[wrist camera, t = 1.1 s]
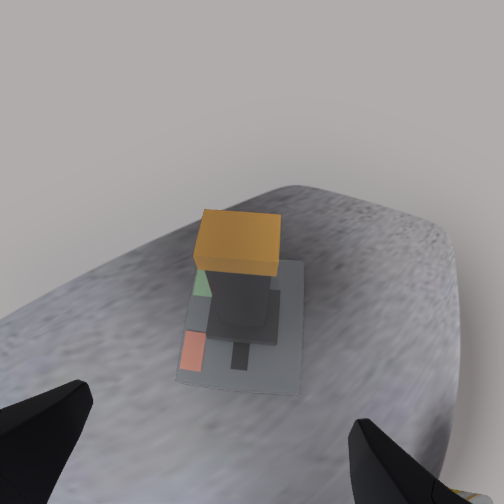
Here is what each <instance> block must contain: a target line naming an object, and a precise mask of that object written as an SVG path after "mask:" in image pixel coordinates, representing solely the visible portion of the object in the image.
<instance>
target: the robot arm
mask: <svg viewBox="0 0 504 504" xmlns="http://www.w3.org/2000/svg"><path fill="white" fill-rule="evenodd" d="M92 405H93V397H92V394H91V391H90V388H89V385H88V384H87V383H86V382H84V381H81V380H74V381H72V382H69V383H67V384H64V385H62V386H60V387H57V388H55V389H52V390H50V391H47V392H45V393H42V394H39V395H37V396H34V397H32V398H29V399H26V400H24V401H21V402H18V403H16V404H13V405H10V406H8V407H5V408H2V409H0V504H47V502H48V500H49V497H50V495H51V493H52V491H53V489H54V487H55V485H56V483H57V480H58V478H59V476H60V474H61V472H62V470H63V468H64V466H65V464H66V462H67V460H68V458H69V456H70V454H71V453H72V451H73V449H74V447H75V445H76V443H77V441H78V439H79V437H80V435H81V433H82V430H83V428H84V425H85V422H86V420H87V417H88V415H89V412H90V410H91V408H92ZM348 446H349V461H350V477H351V484H352V489H353V495H354V500H355V504H473V503H471V502H469V501H467V500H466V499H464V498H462V497H461V496H459V495H458V494H456V493H455V492H453V491H452V490H451V489H449V488H448V487H447V486H445V485H444V484H443V483H442V482H440V481H439V480H438V479H437V478H434V476H433V475H432V474H431V473H430V472H428V471H427V470H426V469H425V468H424V467H422V466H421V465H420V464H419V463H418V462H417V461H416V460H414V459H413V458H412V457H411V456H410V455H409V454H408V453H406V452H405V451H404V450H403V449H402V448H401V447H400V446H398V445H397V444H396V443H395V442H394V441H393V440H392V439H391V438H390V437H388V436H387V435H386V434H385V433H384V432H383V431H382V430H381V429H380V428H379V427H377V426H376V425H375V424H374V423H373V422H372V421H371V420H370V419H368V418H364V419H357V420H356V421H355V422H354V425H353V427H352V429H351V431H350V433H349V436H348Z"/></svg>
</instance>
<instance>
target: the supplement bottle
mask: <svg viewBox="0 0 504 504" xmlns="http://www.w3.org/2000/svg"><path fill="white" fill-rule="evenodd" d="M449 489H450V488H449ZM451 490H452V491H453V492H455V493H456V494H458V495H459V496H461V497H462V498H464V499H466V500H467V501H469V502H471V503H473V504H493V501H492V499H491V498H490V497H489V496H487V495H482V494H476V493H470V492H464V491H459V490H453V489H451Z"/></svg>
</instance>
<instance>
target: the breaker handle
mask: <svg viewBox="0 0 504 504" xmlns="http://www.w3.org/2000/svg"><path fill="white" fill-rule="evenodd" d="M280 226H281V215H279V214H266V213H253V212H239V211H224V210H207V209H205V210H204V212H203V216H202V220H201V224H200V228H199V232H198V237H197V241H196V245H195V249H194V253H193V257H194V260H195V263H196V265H197V268H198V270H205V274H206V277H207V280H208V283H209V287H210V290H211V293H212V298H211V304H210V310H209V316H208V323H207V329H206V337H207V339H213V340H221V341H230V342H240V343H250V344H262V345H275V346H276V345H277V340H278V325H279V309H280V292H281V290H272V289H270V282H271V276H277V270H278V264H279V248H280Z"/></svg>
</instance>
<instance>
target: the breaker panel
mask: <svg viewBox="0 0 504 504" xmlns="http://www.w3.org/2000/svg"><path fill="white" fill-rule="evenodd" d="M270 289H272V290H281V292H280V309H279V325H278V340H277V345H276V346H275V345H262V344H250V343H240V342H230V341H221V340H213V339H207V337H206V329H207V323H208V316H209V310H210V304H211V298H212V293H211V290H210V287H209V283H208V280H207V277H206V274H205V270H198V268H197V266H196V271H195V275H194V280H193V285H192V290H191V295H190V300H189V305H188V310H187V316H186V321H185V326H184V332H183V337H182V343H181V349H180V355H179V361H178V367H177V373H176V380H175V381H177V382H180V383H183V384H188V385H194V386H201V387H207V388H214V389H222V390H230V391H239V392H249V393H261V394H276V395H299V394H300V386H301V369H302V348H303V320H304V261H298V260H285V259H279V264H278V270H277V276H271V282H270Z"/></svg>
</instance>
